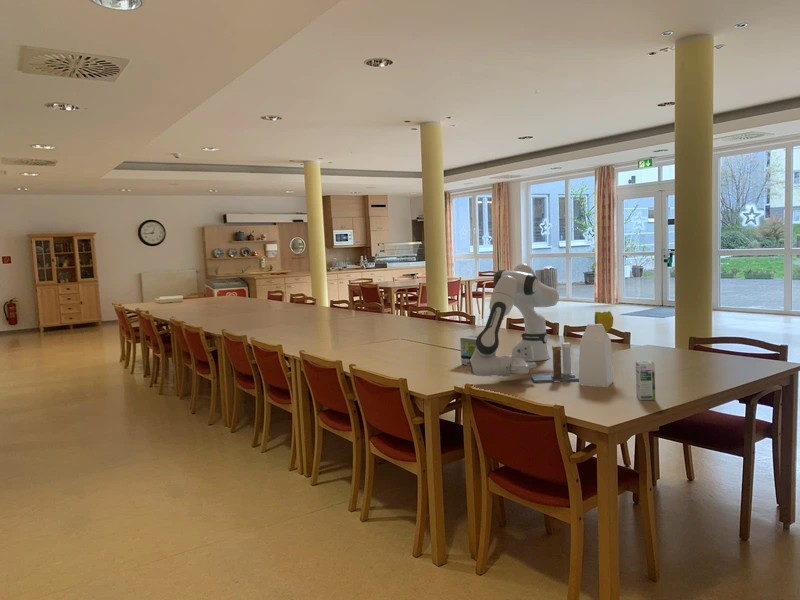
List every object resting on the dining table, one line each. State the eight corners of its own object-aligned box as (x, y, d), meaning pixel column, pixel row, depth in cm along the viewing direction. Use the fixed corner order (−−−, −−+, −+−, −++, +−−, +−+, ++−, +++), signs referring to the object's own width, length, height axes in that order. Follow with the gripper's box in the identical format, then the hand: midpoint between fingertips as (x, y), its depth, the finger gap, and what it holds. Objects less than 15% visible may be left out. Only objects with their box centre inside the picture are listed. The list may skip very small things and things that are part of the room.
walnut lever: (552, 378, 263) (551, 347, 262) (551, 376, 267) (550, 345, 266) (564, 377, 263) (563, 346, 261) (562, 375, 267) (561, 345, 265)
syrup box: (639, 400, 225) (639, 363, 223) (636, 396, 230) (635, 360, 229) (655, 400, 224) (654, 362, 223) (651, 396, 230) (650, 359, 228)
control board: (534, 382, 262) (534, 377, 262) (530, 376, 275) (529, 371, 275) (579, 381, 261) (579, 375, 261) (573, 374, 274) (573, 369, 273)
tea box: (460, 365, 311) (459, 337, 310) (473, 361, 318) (472, 335, 317) (482, 368, 300) (481, 339, 299) (494, 365, 307) (493, 337, 305)
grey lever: (562, 374, 269) (561, 344, 268) (560, 372, 273) (559, 342, 272) (573, 374, 269) (572, 343, 267) (571, 372, 273) (570, 342, 271)
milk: (613, 381, 257) (612, 322, 255) (607, 387, 248) (605, 326, 246) (586, 379, 264) (584, 322, 262) (578, 384, 254) (577, 325, 252)
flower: (615, 378, 263) (614, 311, 261) (596, 378, 265) (595, 312, 262) (613, 373, 271) (612, 309, 269) (595, 373, 273) (593, 310, 271)
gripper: (507, 363, 255) (539, 362, 254) (502, 355, 275) (532, 354, 274) (508, 377, 256) (540, 376, 255) (503, 368, 276) (532, 367, 275)
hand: (536, 364), depth 265 cm, fingers closed
